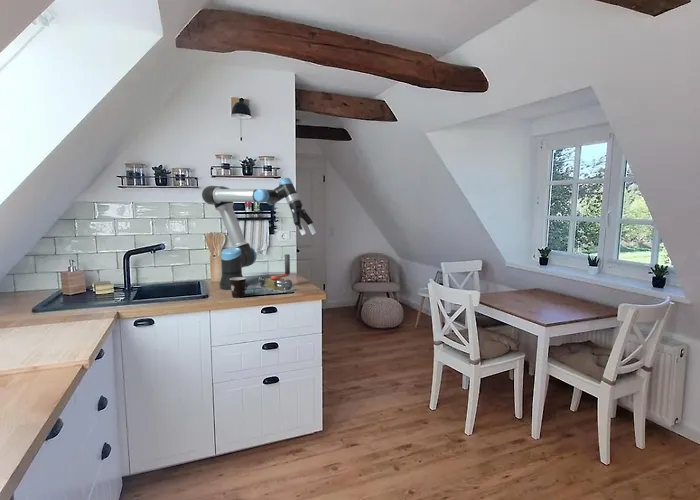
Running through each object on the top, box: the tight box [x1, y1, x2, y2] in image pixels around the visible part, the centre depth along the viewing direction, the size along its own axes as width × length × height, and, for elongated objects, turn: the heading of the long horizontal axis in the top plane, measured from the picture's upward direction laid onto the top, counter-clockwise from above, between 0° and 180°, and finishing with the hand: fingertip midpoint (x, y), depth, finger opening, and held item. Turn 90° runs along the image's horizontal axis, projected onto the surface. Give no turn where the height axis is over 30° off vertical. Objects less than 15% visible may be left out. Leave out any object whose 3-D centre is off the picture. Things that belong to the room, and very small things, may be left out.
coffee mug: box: [230, 276, 248, 299], centre depth 222 cm, size 12×9×10 cm
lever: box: [270, 254, 291, 279], centre depth 247 cm, size 14×4×13 cm, turn 142°
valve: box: [254, 275, 296, 294], centre depth 244 cm, size 24×10×7 cm, turn 52°
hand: (309, 234), depth 241 cm, fingers open, 13 cm apart
